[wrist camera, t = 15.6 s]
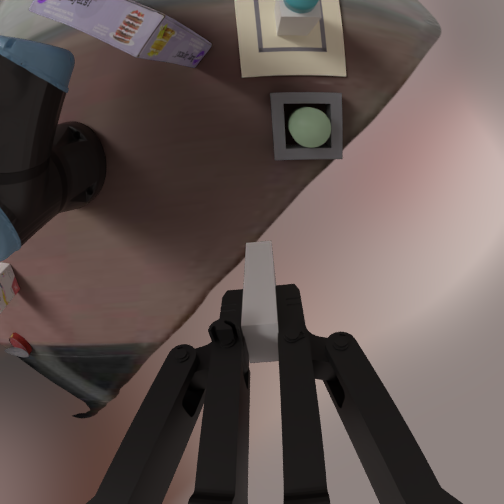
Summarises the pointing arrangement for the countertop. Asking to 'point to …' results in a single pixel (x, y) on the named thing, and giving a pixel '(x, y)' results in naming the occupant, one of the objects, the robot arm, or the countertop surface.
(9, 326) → the countertop surface
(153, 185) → the countertop surface
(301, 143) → the button
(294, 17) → the teal capped white bottle
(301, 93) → the button box
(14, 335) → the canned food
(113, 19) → the cake pan box
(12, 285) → the ink cartridge box
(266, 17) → the cream square mat
